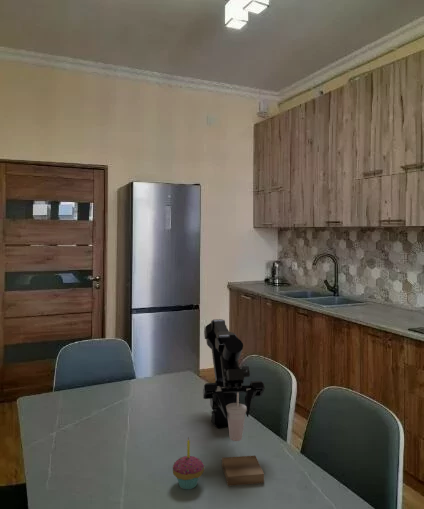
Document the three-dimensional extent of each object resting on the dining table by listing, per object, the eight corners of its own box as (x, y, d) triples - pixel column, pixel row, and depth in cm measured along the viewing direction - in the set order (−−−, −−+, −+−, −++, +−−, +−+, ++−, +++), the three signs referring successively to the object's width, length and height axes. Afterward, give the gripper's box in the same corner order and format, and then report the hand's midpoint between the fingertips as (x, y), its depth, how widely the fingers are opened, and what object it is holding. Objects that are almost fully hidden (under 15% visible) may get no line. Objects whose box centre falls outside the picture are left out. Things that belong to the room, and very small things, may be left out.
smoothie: (250, 439, 128) (251, 393, 127) (234, 445, 124) (235, 398, 123) (236, 431, 133) (237, 387, 132) (220, 437, 129) (221, 391, 128)
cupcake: (172, 476, 119) (172, 434, 118) (203, 475, 119) (203, 433, 119) (172, 494, 110) (172, 449, 110) (205, 493, 111) (205, 448, 110)
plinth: (221, 466, 124) (221, 457, 124) (255, 463, 125) (255, 455, 125) (227, 485, 114) (227, 476, 114) (264, 483, 115) (264, 474, 115)
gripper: (204, 357, 130) (208, 407, 120) (263, 355, 133) (272, 404, 122) (201, 374, 138) (205, 422, 128) (257, 372, 141) (265, 419, 130)
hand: (237, 416), depth 127 cm, fingers closed on smoothie, 6 cm apart
